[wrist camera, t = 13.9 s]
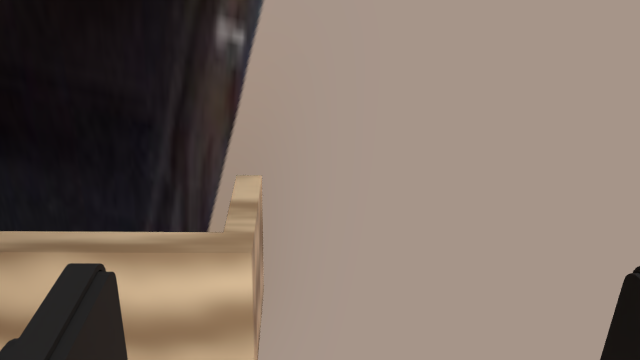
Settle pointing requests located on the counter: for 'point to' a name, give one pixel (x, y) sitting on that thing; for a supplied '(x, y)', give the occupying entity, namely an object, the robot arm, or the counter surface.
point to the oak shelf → (155, 282)
